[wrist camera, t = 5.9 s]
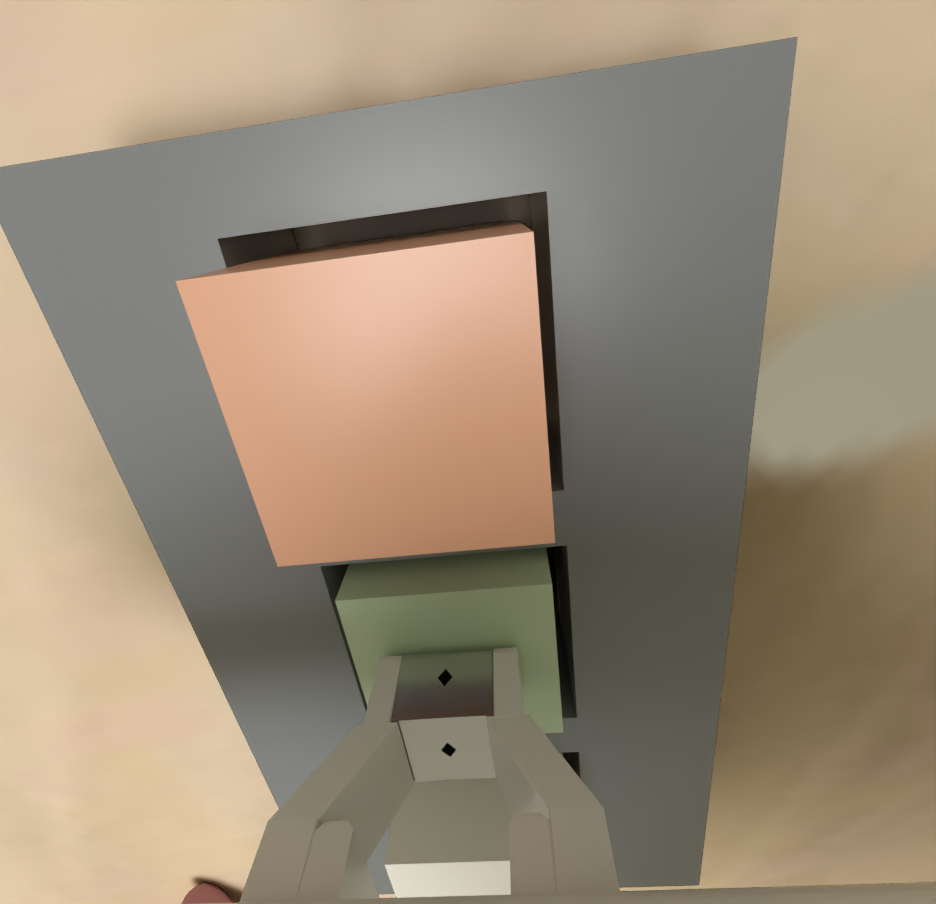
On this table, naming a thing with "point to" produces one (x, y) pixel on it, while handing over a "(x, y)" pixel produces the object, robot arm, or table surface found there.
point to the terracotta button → (385, 392)
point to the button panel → (565, 382)
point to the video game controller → (206, 895)
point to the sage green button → (458, 616)
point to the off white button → (451, 840)
